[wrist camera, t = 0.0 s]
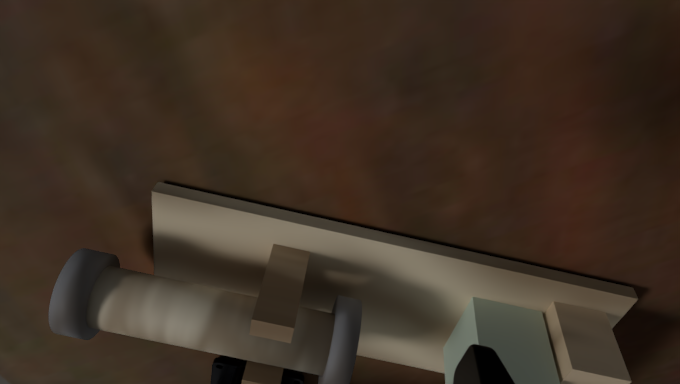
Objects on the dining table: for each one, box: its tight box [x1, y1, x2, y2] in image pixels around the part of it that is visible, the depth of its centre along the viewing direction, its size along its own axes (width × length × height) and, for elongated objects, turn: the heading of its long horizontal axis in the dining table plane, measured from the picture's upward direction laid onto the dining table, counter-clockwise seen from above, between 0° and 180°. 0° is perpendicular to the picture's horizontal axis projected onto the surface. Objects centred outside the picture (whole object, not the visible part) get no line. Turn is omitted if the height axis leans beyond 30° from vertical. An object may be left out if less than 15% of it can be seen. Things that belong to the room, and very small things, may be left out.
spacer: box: [443, 297, 560, 384], centre depth 28 cm, size 5×4×5 cm
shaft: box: [49, 248, 362, 384], centre depth 27 cm, size 5×15×5 cm, turn 78°
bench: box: [152, 182, 638, 384], centre depth 28 cm, size 10×26×6 cm, turn 78°
